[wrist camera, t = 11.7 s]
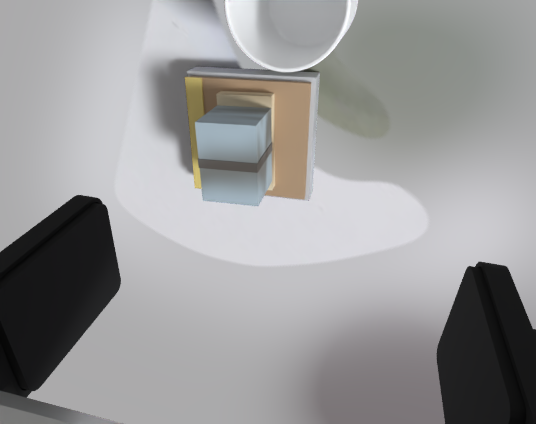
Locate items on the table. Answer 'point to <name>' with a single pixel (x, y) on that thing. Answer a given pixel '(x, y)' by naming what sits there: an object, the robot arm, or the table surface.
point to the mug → (288, 30)
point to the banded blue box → (237, 148)
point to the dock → (286, 119)
